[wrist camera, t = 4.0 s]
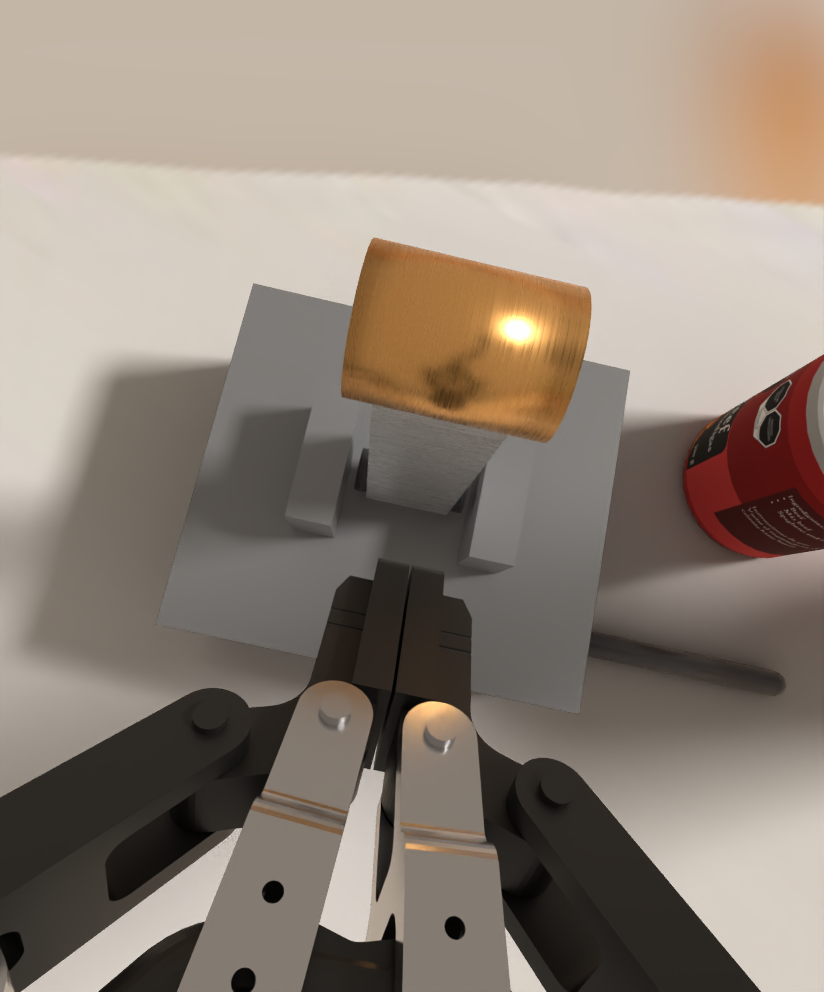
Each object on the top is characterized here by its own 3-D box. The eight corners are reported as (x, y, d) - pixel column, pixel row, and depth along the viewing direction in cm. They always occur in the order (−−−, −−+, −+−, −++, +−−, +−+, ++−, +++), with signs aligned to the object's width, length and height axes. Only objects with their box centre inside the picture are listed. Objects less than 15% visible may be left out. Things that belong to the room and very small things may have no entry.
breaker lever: (468, 459, 26) (601, 255, 12) (453, 534, 25) (574, 414, 11) (367, 437, 25) (377, 202, 11) (349, 511, 25) (338, 360, 11)
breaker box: (794, 478, 36) (981, 414, 25) (770, 745, 33) (970, 802, 22) (276, 360, 35) (240, 241, 24) (205, 625, 32) (127, 623, 21)
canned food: (777, 398, 37) (950, 303, 26) (838, 533, 35) (1047, 493, 25) (654, 438, 36) (782, 357, 25) (712, 579, 34) (874, 557, 24)
